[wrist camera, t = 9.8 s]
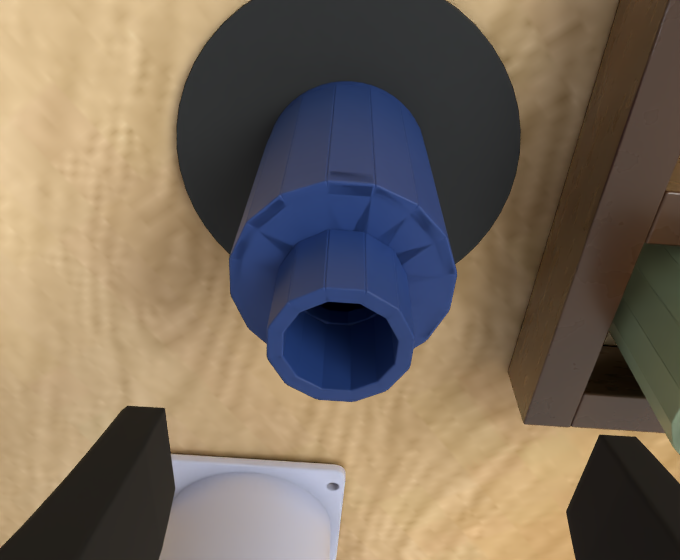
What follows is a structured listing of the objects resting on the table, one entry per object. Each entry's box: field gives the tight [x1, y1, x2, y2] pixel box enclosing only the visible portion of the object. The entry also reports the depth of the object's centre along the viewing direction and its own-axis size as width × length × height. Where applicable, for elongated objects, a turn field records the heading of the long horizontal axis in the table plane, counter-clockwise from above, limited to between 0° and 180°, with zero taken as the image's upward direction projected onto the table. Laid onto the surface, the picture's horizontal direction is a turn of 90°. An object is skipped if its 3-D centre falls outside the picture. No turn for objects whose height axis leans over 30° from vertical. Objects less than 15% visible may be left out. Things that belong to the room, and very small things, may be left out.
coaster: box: [177, 0, 521, 264], centre depth 18 cm, size 10×10×1 cm
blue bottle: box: [229, 81, 457, 402], centre depth 14 cm, size 5×5×8 cm
